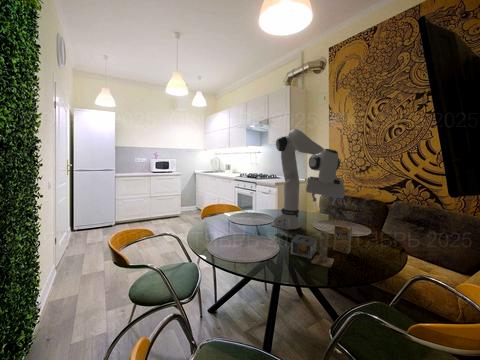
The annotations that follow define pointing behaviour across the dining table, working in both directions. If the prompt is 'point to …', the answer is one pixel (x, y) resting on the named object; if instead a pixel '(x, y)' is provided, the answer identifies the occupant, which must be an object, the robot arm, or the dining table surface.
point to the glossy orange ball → (303, 247)
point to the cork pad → (327, 264)
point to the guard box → (303, 240)
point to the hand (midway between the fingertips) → (323, 203)
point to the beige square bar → (323, 246)
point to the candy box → (342, 238)
